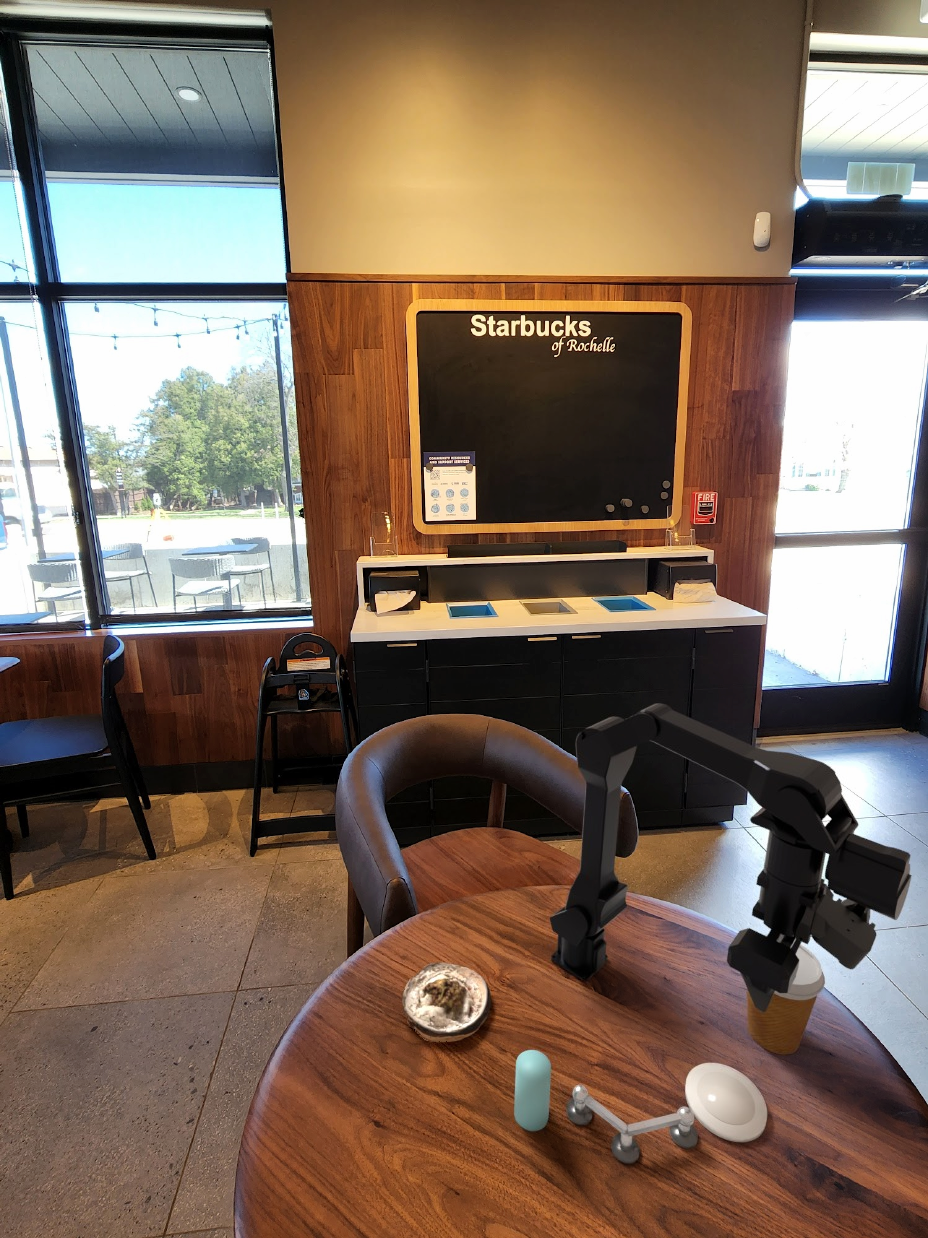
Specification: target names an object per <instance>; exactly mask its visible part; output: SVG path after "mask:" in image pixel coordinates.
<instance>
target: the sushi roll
mask: <svg viewBox="0 0 928 1238" xmlns="http://www.w3.org/2000/svg"><path fill="white" fill-rule="evenodd" d="M404 989H405V990H404ZM404 989H403V993H402V994H401V996H402V997H401V1001H402V1007H403V1013H404V1014H406V1015H407V1019H408V1022H409V1024H410V1026H411V1027H412V1028H414V1029H415V1030H416V1032H418V1033H419V1035H421V1036H422V1037H423V1038H424V1039H426V1040H428V1041H432V1042H436V1043H451V1042H457V1041H461V1040H463V1039H465V1038H468V1037H470V1036H472V1035H473V1034H475V1032H477V1031H478V1030H480V1027H481V1026H482V1025H483V1024H484V1023H486V1022H487V1021H488V1018H489V1016H490V1010H491V1005H492V1004H491V1003H492V1001H491V999H492V997H491V990H490V987H489V985H488V983H487V981H486V980H485V979H484V977H483V976H481V975H480V974H479V973H477V971H476V970H473V969H471V968H468V967H466V966H460V965H457V964H452V963H447V962H435V963H433V962H431V963H429V964H426V965H424V966H423V969H420V970H419V971H418V972H417V973H416V974H414V976H413V977H412V978H409V980H408V982H407V983H406V985H405V987H404ZM414 1029H413V1030H414ZM439 1041H440V1042H439ZM446 1041H447V1042H446Z"/></svg>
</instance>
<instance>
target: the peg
mask: <svg viewBox="0 0 928 1238" xmlns="http://www.w3.org/2000/svg"><path fill="white" fill-rule="evenodd" d="M551 1074H552V1064H551V1060H550V1059H549V1058H548V1056H547V1055H545V1054H544V1053H543V1052H542V1051H539V1050H537V1049H536V1050H535V1049H528V1050H527V1049H526V1050H525V1051H522V1052H521V1053H520V1054H519V1055H518V1056H517V1058H516V1061H515V1083H514V1084H515V1086H514V1089H515V1090H514V1105H513V1106H514V1109H513V1111H514V1112H513V1114H514V1119H515V1121H516V1123H517V1124H518V1125H519V1126H520V1127H521V1128H522V1129H524V1130H526V1131H529V1132H538V1131H540V1130H543V1128H545V1127H546V1126H547V1123H548V1121H549V1115H550V1113H549V1111H550V1098H551V1097H550V1095H551V1094H550V1093H551V1079H552V1078H551V1077H552V1075H551Z"/></svg>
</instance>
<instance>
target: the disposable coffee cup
mask: <svg viewBox="0 0 928 1238" xmlns="http://www.w3.org/2000/svg"><path fill="white" fill-rule="evenodd" d="M764 935H765V936H767V935H768V934H764ZM796 956H797V957H798V959H799V960H800V961H799V966H798V970H797V974H796V978H795V980H794V982H793V983H792V985H791V987H790V989H789V991H788V993H778V992H777V991H775V992H774V994H773V997H772V999H771V1001H770V1003H769V1005H768V1007H767V1010H766V1012H762V1011H760V1010H759V1009H757V1008H756V1007H755V1006H754V1003H753V1001H752V999H751V996H750V994H749V991H748V989H747V988H746V1003H747V1004H746V1007H747V1008H746V1013H747V1014H746V1017H747V1019H746V1020H747V1024H746V1025H747V1031H748V1033H749V1035H750V1036H751V1038H752V1039H753V1041H755V1043H757V1044H758V1045H759V1046H761V1047H762V1048H764V1050H767V1051H768V1052H771V1053H773V1054H777V1055H782V1056H783V1055H791V1054H793V1053H795V1052H796V1051H797V1050H798V1049H799V1047H800V1045H801V1042H802V1039H803V1037H804V1033H805V1031H806V1027H807V1025H808V1023H809V1020H810V1017H811V1013H812V1011H813V1008H814V1007H815V1004H816V1000H817V998H818V995H819V994H820V993H821V992H822V991H823V989H824V987H825V985H826V980H825V979H826V978H825V975H824V972H823V968H822V965H821V963H820V961H819V959H818V958H817V956H816V955H815V954H814V953H813V952H812V951H810V949H808V948H807V947H806V946H804V945H803V944H802V943H801V944H800V946H799V949H798V951H797V953H796Z"/></svg>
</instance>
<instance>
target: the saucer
mask: <svg viewBox="0 0 928 1238" xmlns="http://www.w3.org/2000/svg"><path fill="white" fill-rule="evenodd" d="M684 1094H685V1100H686V1102H687V1105H688V1108H689V1109H690V1110H691V1111H692V1113H693V1115H694V1118H695V1119H696V1120H697V1121H698V1122H699V1123H700V1124H701V1125H702V1126H703V1127H704V1128H705V1129H707V1130H708V1131H709V1132H710V1133H712V1134H714V1135H715V1136H718V1137H719V1138H721V1139H724V1140H726V1141H731V1142H736V1143H749V1142H751V1141H755V1140H756V1139H758V1138H759V1137H760V1136H761V1135H762V1134H763V1132H764V1131H765V1128H766V1126H767V1120H768V1108H767V1107H768V1106H767V1105H766V1101H765V1099H764V1097H763V1095H762V1093H761V1092H760V1090H759V1088H758V1087H757V1086H756V1085H755V1084H754V1082H753V1081H751V1079H749V1077H747V1076H746V1075H745V1074H743V1073H742V1072H740V1071H739V1070H737V1069H735V1068H733V1067H731V1066H728V1065H726V1064H723V1063H717V1062H705V1063H701V1064H698V1065H696V1066H695V1067H693V1068H692V1069H691V1070H690V1071H689V1073H688V1074H687V1076H686V1080H685V1087H684Z"/></svg>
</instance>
